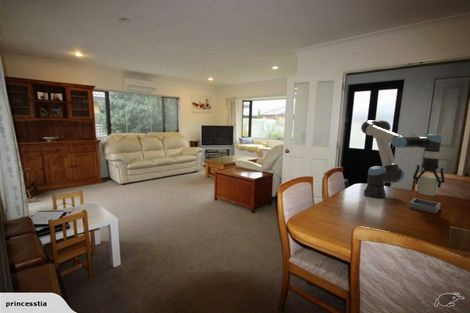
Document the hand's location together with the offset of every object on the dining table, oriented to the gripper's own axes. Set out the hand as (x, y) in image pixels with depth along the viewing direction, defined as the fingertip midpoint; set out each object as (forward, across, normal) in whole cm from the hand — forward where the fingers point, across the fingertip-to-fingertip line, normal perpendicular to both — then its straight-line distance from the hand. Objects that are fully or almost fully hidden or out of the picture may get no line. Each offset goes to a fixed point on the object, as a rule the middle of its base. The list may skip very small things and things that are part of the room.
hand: (426, 190), depth 151 cm
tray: (+13, 0, 0) cm, 13 cm away
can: (+2, 0, 0) cm, 2 cm away
